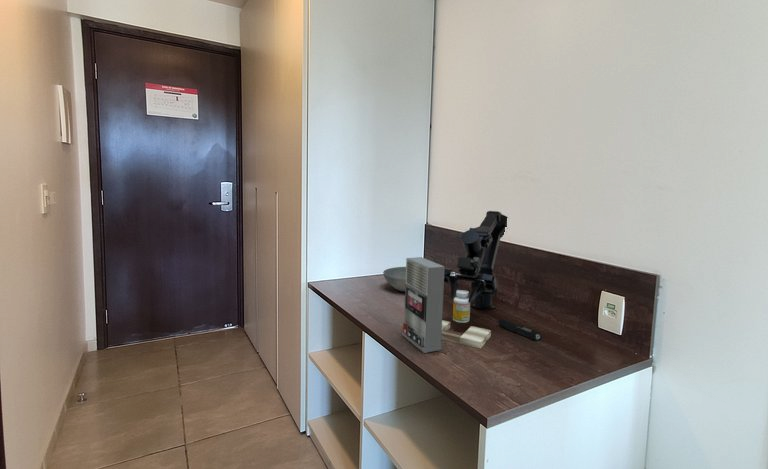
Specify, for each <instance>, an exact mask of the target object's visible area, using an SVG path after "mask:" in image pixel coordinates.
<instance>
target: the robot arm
mask: <svg viewBox="0 0 768 469" xmlns="http://www.w3.org/2000/svg"><path fill="white" fill-rule="evenodd" d="M507 218H508V219H509V217H508V216H507V215H505V214H503V213H502V212H501V211H497V210H488V211H487V212H486V214H485V217H484V219H483V221H482V222H481V223H480V225H479V226H477V227H469V230H466V231H464V232H463V233H461V236H460V240H461V243H462V245H463V248H464V252H466V254H465V256H464V257H463V256H458V257H457V262H456V267H457V270H458V273H456V272H455V271H453V269H452V268H448V267H445V270H444V284H445V283H446V284H449V286H450V293H451V295H450V297H451V300H453V301H454V298H455V297H456V291H457V290H458V288H459V284H458V281H463V282H471V292H470V294H469V296H468V298H469V301H468V302H469V303H470V304H471V303H472V302H473V301H474V304H471V306H472V307H473V308H476V309H479V310H482V311H488V310H491V309H495V308H496V306H495V305H493V300H494V299H493V297H494V295H497V294H498V291H499V290H498V289H499V288H498V283H497V278H496V277H497V276H496V275H495V273H494V267H495V263H496V259H497V258H496V257H497V254H498V250H499V246H500V241H501V238H503V237H504V236H505V235H504V232H505V227H507ZM503 235H504V236H503ZM484 248H485V249H484Z"/></svg>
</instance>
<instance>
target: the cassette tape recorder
mask: <svg viewBox="0 0 768 469" xmlns="http://www.w3.org/2000/svg"><path fill="white" fill-rule="evenodd" d="M405 260H406V261H405V262H406V263H405V267H406V285H405V293H404V294H405V295H404V320H403V321H404V322H403V325H402V332H401V336H402V337H403V338H405V339H406V340H408V342H409V343H411V344H412V345H413V346H414V347H416V348H417V349H418V350H420V351H421V352H422V353H423V354H427V353H432V352H437V351H442V350H443V349H442V347H443V346H442V340H441V335H442V320H443V311H444V309H443V308H444V287H445V283H444V270H445V268H446V267H445V265H441V264H439V263H436V262H434V261H431V260H429V259H426V257H425V258H424V257H421V256H418V257H417V256H415V257H406V259H405Z"/></svg>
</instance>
